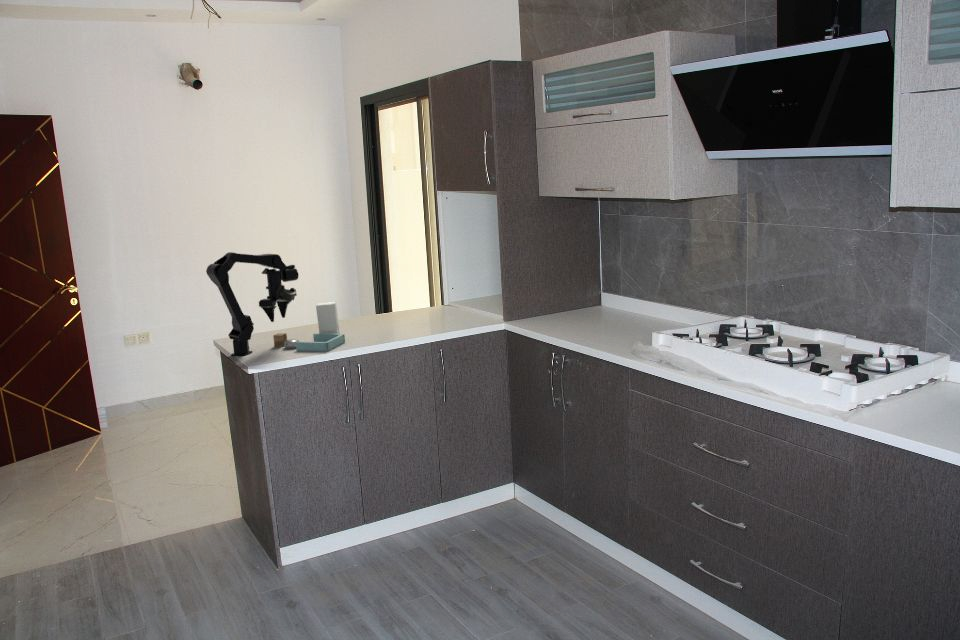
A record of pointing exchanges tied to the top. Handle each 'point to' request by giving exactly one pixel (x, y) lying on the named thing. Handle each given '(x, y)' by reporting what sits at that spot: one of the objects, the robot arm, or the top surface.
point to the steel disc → (290, 343)
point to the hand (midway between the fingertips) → (278, 319)
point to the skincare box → (327, 318)
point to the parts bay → (321, 342)
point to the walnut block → (279, 339)
